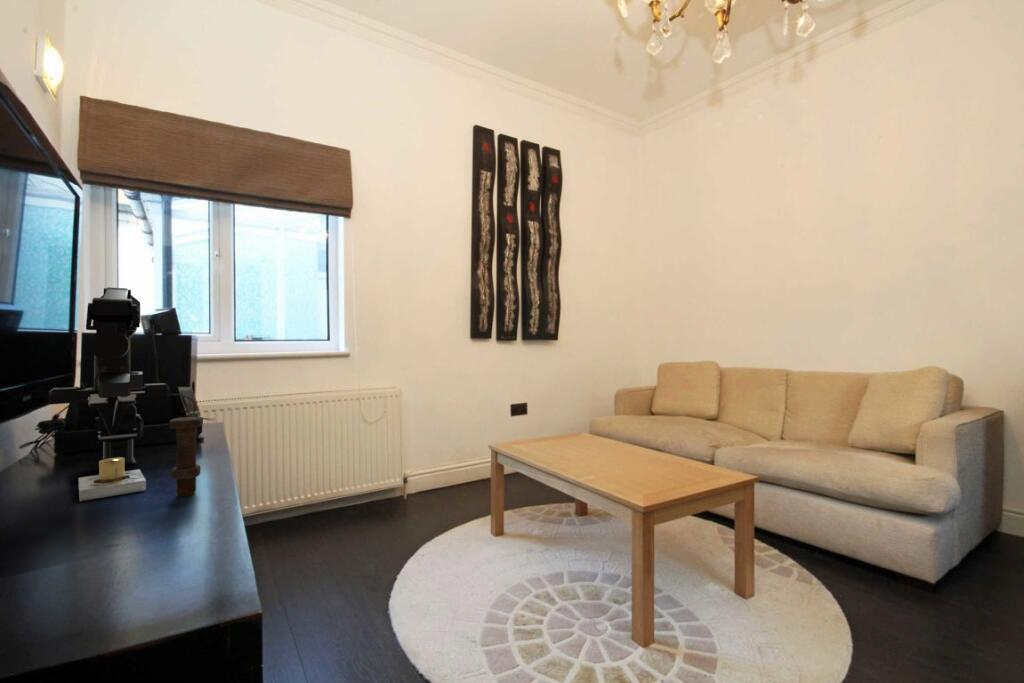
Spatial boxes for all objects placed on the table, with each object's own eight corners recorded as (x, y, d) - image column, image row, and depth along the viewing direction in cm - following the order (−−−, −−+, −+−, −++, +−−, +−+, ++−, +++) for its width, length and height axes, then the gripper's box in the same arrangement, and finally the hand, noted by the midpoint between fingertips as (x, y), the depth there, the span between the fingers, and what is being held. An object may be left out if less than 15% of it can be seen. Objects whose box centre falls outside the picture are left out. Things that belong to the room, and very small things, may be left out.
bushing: (98, 488, 98) (98, 459, 98) (123, 485, 101) (123, 456, 101) (99, 493, 95) (99, 463, 95) (125, 489, 98) (125, 459, 98)
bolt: (209, 491, 96) (209, 416, 96) (190, 499, 91) (190, 420, 91) (182, 490, 97) (183, 416, 97) (162, 498, 92) (162, 420, 92)
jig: (78, 487, 99) (78, 477, 99) (139, 478, 106) (139, 469, 106) (79, 501, 90) (79, 490, 90) (145, 490, 97) (146, 480, 97)
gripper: (48, 361, 86) (47, 447, 86) (174, 358, 98) (173, 434, 98) (49, 360, 94) (49, 439, 94) (166, 358, 107) (165, 428, 106)
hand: (112, 435), depth 98 cm, fingers closed
